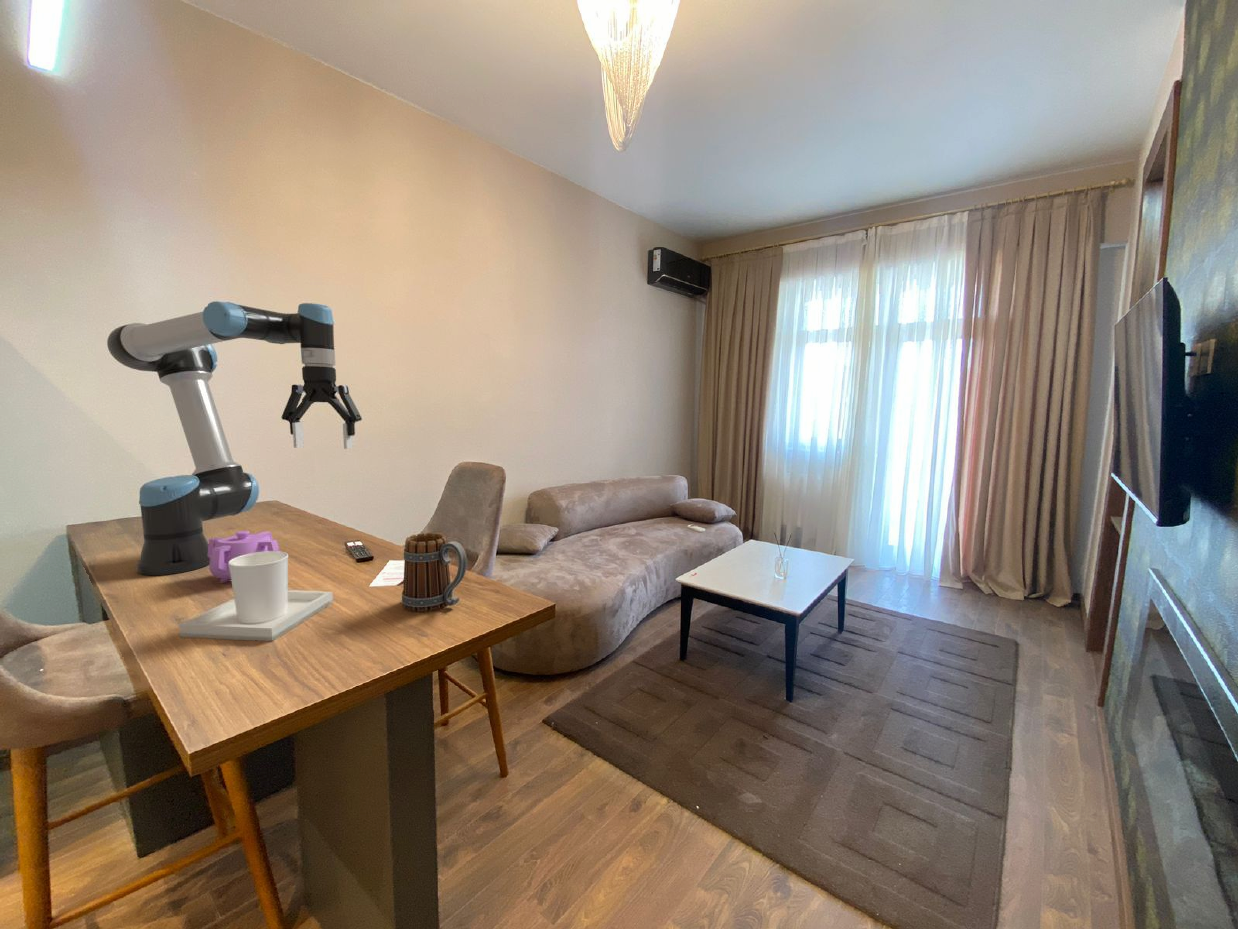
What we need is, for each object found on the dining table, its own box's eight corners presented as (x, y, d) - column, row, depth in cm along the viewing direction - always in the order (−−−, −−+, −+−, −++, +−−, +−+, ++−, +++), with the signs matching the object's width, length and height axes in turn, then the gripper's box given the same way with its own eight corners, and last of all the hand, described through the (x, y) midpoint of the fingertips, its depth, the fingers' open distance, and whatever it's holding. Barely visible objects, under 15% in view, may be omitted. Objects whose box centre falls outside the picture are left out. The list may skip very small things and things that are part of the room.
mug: (391, 608, 108) (388, 540, 106) (426, 591, 118) (424, 529, 116) (448, 621, 102) (446, 549, 100) (481, 602, 112) (479, 537, 110)
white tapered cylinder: (246, 630, 95) (241, 569, 93) (224, 617, 100) (219, 559, 99) (301, 612, 103) (297, 556, 102) (278, 601, 108) (274, 548, 107)
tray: (180, 637, 93) (179, 624, 93) (255, 599, 111) (254, 588, 111) (272, 641, 92) (271, 628, 92) (333, 602, 110) (332, 591, 110)
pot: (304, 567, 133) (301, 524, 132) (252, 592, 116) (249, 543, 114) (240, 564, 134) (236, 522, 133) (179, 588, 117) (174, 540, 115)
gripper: (261, 364, 126) (267, 448, 129) (357, 365, 125) (361, 450, 128) (283, 366, 134) (288, 445, 136) (373, 367, 132) (377, 447, 135)
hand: (323, 447), depth 132 cm, fingers open, 13 cm apart
